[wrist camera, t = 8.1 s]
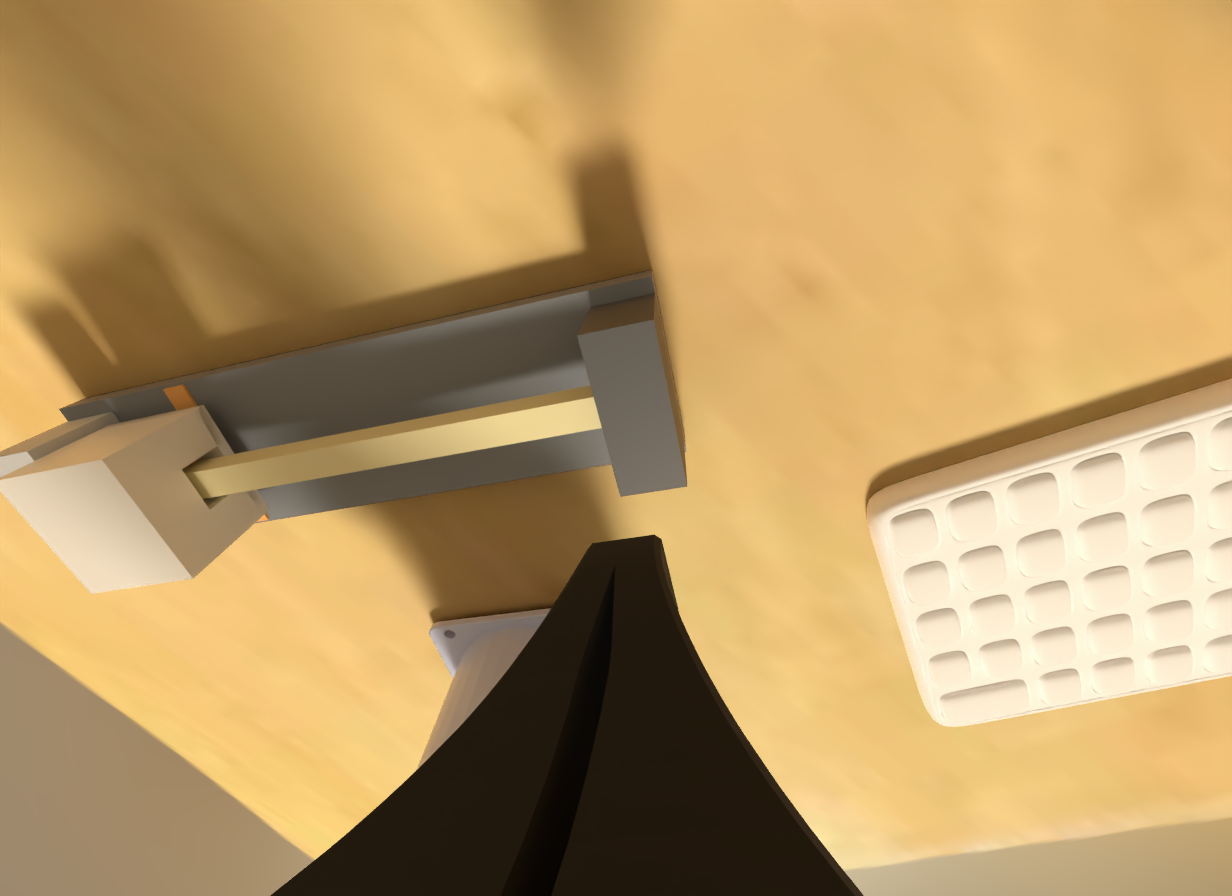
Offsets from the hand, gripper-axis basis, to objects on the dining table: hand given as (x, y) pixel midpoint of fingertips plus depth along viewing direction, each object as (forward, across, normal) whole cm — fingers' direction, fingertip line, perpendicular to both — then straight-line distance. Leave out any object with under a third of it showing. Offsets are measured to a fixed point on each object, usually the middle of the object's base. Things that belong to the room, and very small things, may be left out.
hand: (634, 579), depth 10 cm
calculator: (+10, -18, +10) cm, 23 cm away
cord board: (+9, +10, -1) cm, 14 cm away
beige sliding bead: (+8, +17, -1) cm, 18 cm away
